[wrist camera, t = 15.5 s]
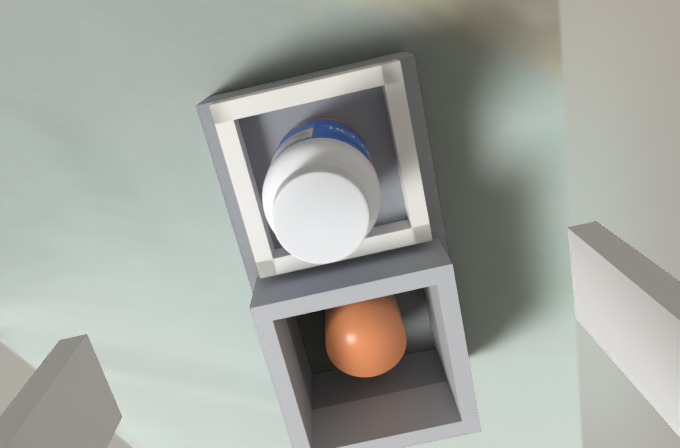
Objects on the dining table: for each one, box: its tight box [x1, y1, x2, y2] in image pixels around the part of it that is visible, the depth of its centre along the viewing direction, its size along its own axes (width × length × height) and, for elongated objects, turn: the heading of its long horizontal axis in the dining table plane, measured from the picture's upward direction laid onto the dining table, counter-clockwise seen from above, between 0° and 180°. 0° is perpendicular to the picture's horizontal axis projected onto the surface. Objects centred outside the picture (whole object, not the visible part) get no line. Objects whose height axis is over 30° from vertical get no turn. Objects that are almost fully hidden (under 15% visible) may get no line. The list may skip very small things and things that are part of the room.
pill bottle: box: [262, 118, 381, 264], centre depth 28 cm, size 6×5×10 cm
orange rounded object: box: [325, 294, 407, 377], centre depth 37 cm, size 5×5×4 cm
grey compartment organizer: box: [196, 51, 481, 448], centre depth 35 cm, size 22×12×8 cm, turn 13°
